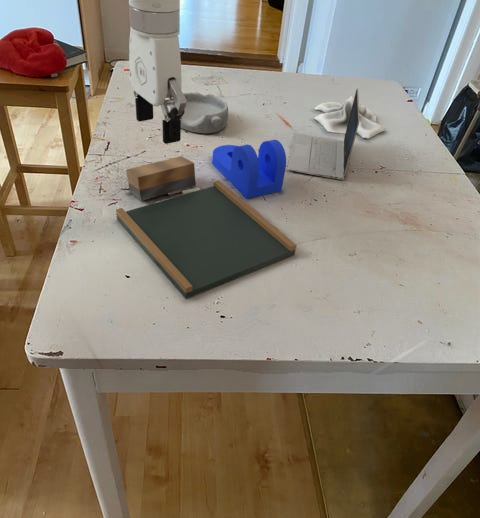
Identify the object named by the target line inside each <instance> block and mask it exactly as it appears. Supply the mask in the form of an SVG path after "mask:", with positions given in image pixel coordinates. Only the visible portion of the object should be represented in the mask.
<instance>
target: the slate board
mask: <svg viewBox="0 0 480 518" xmlns="http://www.w3.org/2000/svg"><path fill="white" fill-rule="evenodd" d="M170 198H171V199H170ZM170 198H167V200H166V199H163V200H164V201H162V200H160V201H161V202H158V201H156V202H157V203H155V202H153V203H151V204H147V205H144V206H140V207H137V208H133V209H130V210H127V211H126V210H125V209H124V208H122V207H120V208H116V209H115V214H116V220H117V221H118V223H120V225H121V226H122V227H123V228H124V229H125V230H126V232H127V233H128V234H129V235H130V236H131V237H132V238H133V240H134V242H136V243H137V244H138V246H139V247H140V249H142V250H143V251H144V253H145V254H146V255H147V256H148V257H149V258H150V259H151V261H152V262H153V263H154V264H155V265H156V267H157V268H158V269H159V270H160V271H161V272H162V273H163V274H164V275H165V277H166V278H167V279H168V280H169V282H170V283H171V284H172V285H173V286H174V287H175V289H177V291H178V292H179V293H180V294H181V295H182V297H183V298H184V299H186V300H187V299H189V298H191V297H194V296H196V295H199V294H202V293H204V292H207V291H209V290H211V289H214V288H216V287H219V286H222V285H224V284H226V283H229V282H231V281H235V280H236V279H238V278H241V277H243V276H246V275H248V274H251V273H253V272H257V271H259V270H261V269H263V268H265V267H268V266H270V265H273V264H275V263H278V262H280V261H282V260H285V259H287V258H290V257H292V256H295V253H296V249H297V244H296V243H295V242H294V241H293V240H291V238H289V237H288V236H287V235H286V234H284V233H283V232H282V231H281V230H280V229H278V228H277V227H276V226H275V225H274V224H272V223H271V222H270V221H269V220H267V218H265V217H264V216H263V215H261V214H260V213H259V212H258V211H257V210H255V209H254V208H253V207H252V206H251V205H250V204H249V203H247V202H246V201H244V200H243V198H241V197H240V196H239V195H238V194H237V193H235V192H234V191H233V190H232V189H230V188H229V186H227V185H225V183H223V182H222V181H221V180H220V179H217V180H214V181H213V186H209V187H205V188H203V189H202V188H201V189H200V190H198V191H195V192H192V193H188V194H185V195H183V194H182V195H181V194H180V195H178V196H173V197H170Z"/></svg>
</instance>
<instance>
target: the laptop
mask: <svg viewBox="0 0 480 518" xmlns="http://www.w3.org/2000/svg"><path fill="white" fill-rule="evenodd" d="M353 97H354V101H353V105H352V109H351V113H350V117H349V121H348V125H347V130H346V134H344V137H343V140H341V139H333V138H327V137H321V136H313V135H308V134H302V133H301V134H300V133H293V136H292V142H291V147H290V152H289V158H288V162H287V163H288V164H287V167H286V168H287V169H286V170H287V171H292V172H296V173H302V174H308V175H312V176H313V175H314V176H318V177H323V178H329V179H334V180H342V181H343V180H345V177H346V174H347V170H348V167H349V163H350V159H351V155H352V151H353V147H354V144H355V140H356V137H357V134H358V133H357V129H358V126H359V104H360V103H359V101H360V99H359V88H358V87H357V88H356V90H355V93H354V96H353Z"/></svg>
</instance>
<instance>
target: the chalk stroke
mask: <svg viewBox="0 0 480 518" xmlns="http://www.w3.org/2000/svg"><path fill="white" fill-rule="evenodd" d="M188 189H192V187H188V188H184V189H181V190H177V191H174V192H170V193H167V195H168V196H171V195H173V194H178V193H182V191H183V190H188Z"/></svg>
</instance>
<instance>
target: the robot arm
mask: <svg viewBox="0 0 480 518" xmlns="http://www.w3.org/2000/svg"><path fill="white" fill-rule="evenodd" d="M128 8H129V9H128V10H129V27H130V30H129V39H128V41H129V43H128V45H129V46H128V61H129V63H128V66H129V84H130V87H131V89H132V90H133V96H134V98H135V100H134V101H135V102H134V103H135V119H136V121H138V122H140V123H141V122H144V121H145V122H146V121H150V120H153V119H154V107H159V106H160V108H161V112H162V115H163V117H164V118H163V119H162V142H163V143H164V144H165V145H168V144H173V143H178V142H180V141H181V139H182V137H181V135H182V134H181V131H182V130H181V129H182V128H181V119H182V117H183V114H184V112H185V111H184V109H185V106H186V104H187V100H186V98H185V96H184V94H183V93H184V92H183V90H182V81H183V80H182V60H181V59H182V58H181V47H180V38H179V35H180V33H181V30H180V29H181V27H180V26H181V25H180V23H181V22H180V21H181V18H180V17H181V0H128ZM170 105H173V107H174V108H172V110H171V111H170V109H169V107H170ZM168 106H169V107H168Z"/></svg>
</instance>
